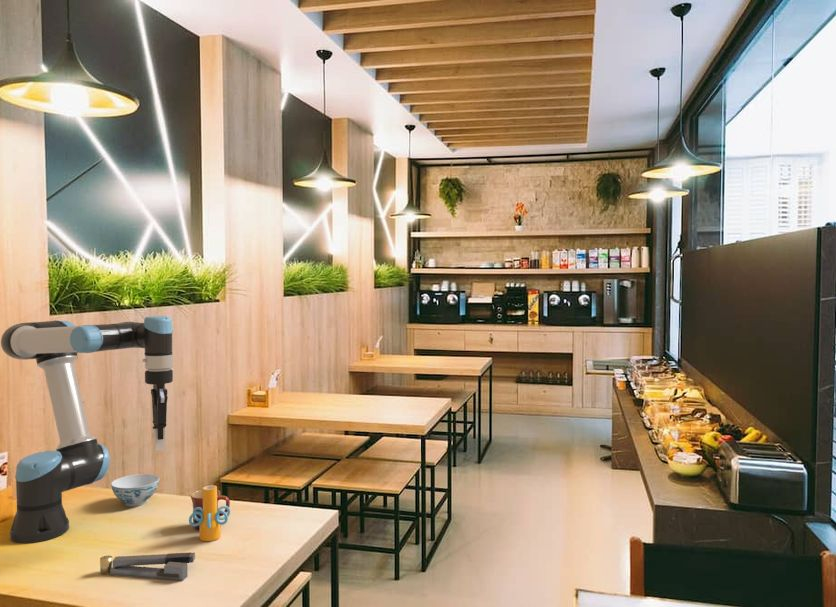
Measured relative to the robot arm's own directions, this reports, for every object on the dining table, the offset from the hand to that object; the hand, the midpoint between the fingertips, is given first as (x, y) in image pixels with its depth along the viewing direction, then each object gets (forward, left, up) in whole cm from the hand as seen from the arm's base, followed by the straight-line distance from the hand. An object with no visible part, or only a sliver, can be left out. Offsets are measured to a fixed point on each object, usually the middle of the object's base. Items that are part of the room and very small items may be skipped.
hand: (159, 449), depth 184 cm
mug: (+10, +11, -27) cm, 30 cm away
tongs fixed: (+8, -22, -26) cm, 35 cm away
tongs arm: (+10, -19, -25) cm, 32 cm away
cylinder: (+14, +3, -27) cm, 30 cm away
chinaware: (-25, +26, -27) cm, 45 cm away
